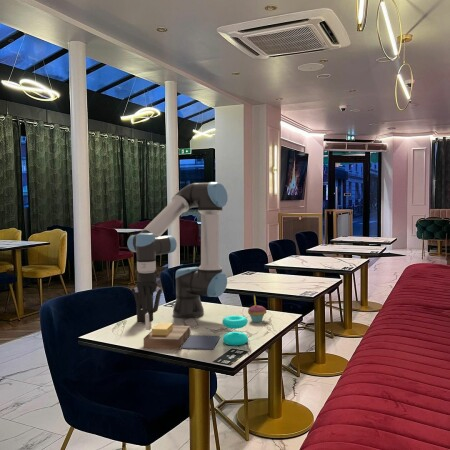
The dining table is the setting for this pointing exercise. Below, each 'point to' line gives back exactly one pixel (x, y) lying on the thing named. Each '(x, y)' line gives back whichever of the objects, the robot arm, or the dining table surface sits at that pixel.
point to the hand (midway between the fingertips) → (148, 329)
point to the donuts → (235, 323)
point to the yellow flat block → (162, 329)
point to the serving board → (168, 339)
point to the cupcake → (256, 312)
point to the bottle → (139, 314)
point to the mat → (201, 342)
